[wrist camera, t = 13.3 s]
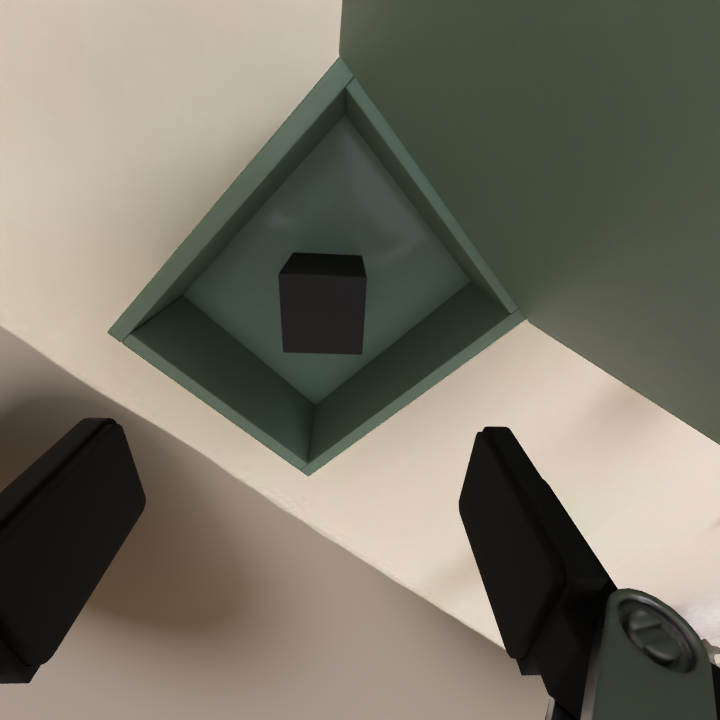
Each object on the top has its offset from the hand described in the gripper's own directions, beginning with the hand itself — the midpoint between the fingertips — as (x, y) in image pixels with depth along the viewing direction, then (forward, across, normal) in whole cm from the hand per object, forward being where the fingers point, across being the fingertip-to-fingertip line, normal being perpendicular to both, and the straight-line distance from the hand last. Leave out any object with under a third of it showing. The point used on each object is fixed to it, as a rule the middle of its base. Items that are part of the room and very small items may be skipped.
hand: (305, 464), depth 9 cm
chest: (+17, 0, 0) cm, 17 cm away
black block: (+16, 0, 0) cm, 16 cm away
